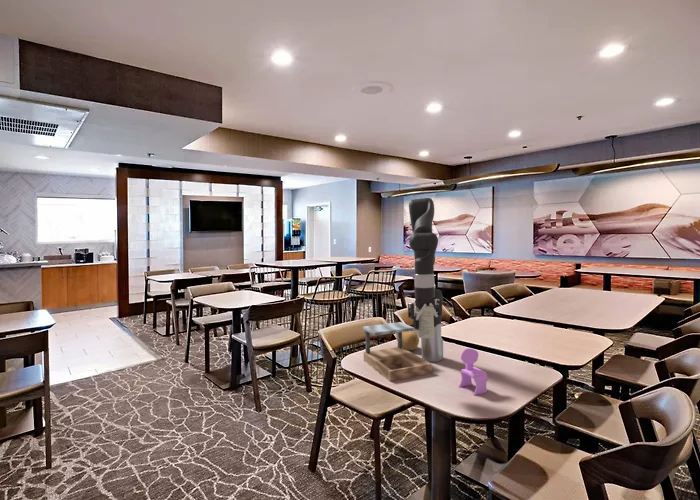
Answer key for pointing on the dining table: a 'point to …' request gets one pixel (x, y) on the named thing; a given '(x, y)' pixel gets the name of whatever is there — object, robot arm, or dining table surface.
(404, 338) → the potato
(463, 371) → the chair
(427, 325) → the skincare box
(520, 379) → the dining table surface
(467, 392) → the dining table surface
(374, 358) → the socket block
